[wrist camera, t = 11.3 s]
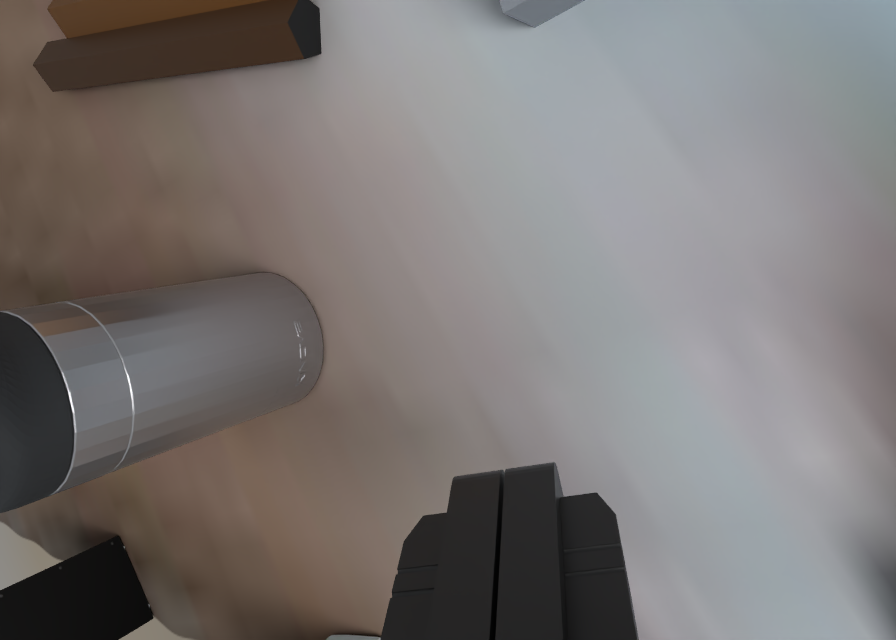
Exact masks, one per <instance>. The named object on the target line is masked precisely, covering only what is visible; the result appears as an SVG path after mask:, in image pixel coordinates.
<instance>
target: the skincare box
mask: <svg viewBox="0 0 896 640" xmlns="http://www.w3.org/2000/svg"><path fill="white" fill-rule="evenodd" d="M380 639H381V638H380V637H371V636H359V635H331V636H329V637H328V638H327V639H326V640H380Z"/></svg>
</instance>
